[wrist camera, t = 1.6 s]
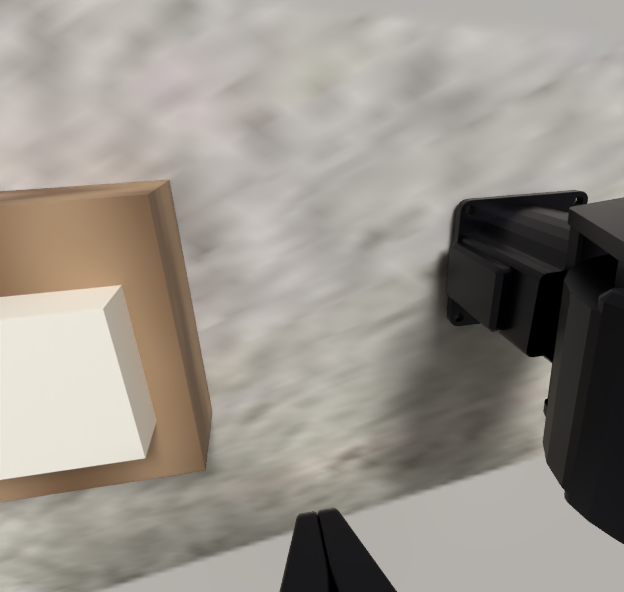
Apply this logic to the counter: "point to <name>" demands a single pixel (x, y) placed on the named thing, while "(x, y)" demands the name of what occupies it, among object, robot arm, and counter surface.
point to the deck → (140, 302)
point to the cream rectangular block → (70, 383)
